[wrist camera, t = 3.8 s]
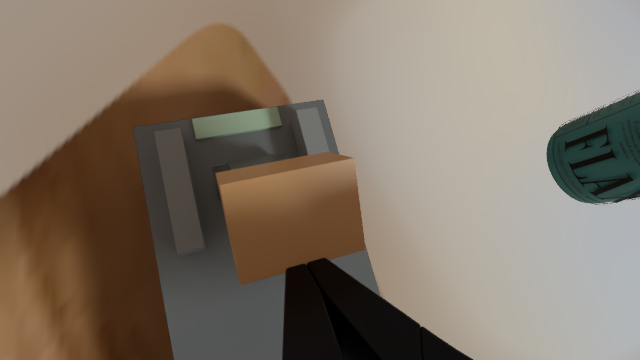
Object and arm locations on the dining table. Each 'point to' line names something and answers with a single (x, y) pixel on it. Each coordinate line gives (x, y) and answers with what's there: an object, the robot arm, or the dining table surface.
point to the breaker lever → (289, 211)
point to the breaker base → (222, 227)
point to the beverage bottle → (599, 154)
